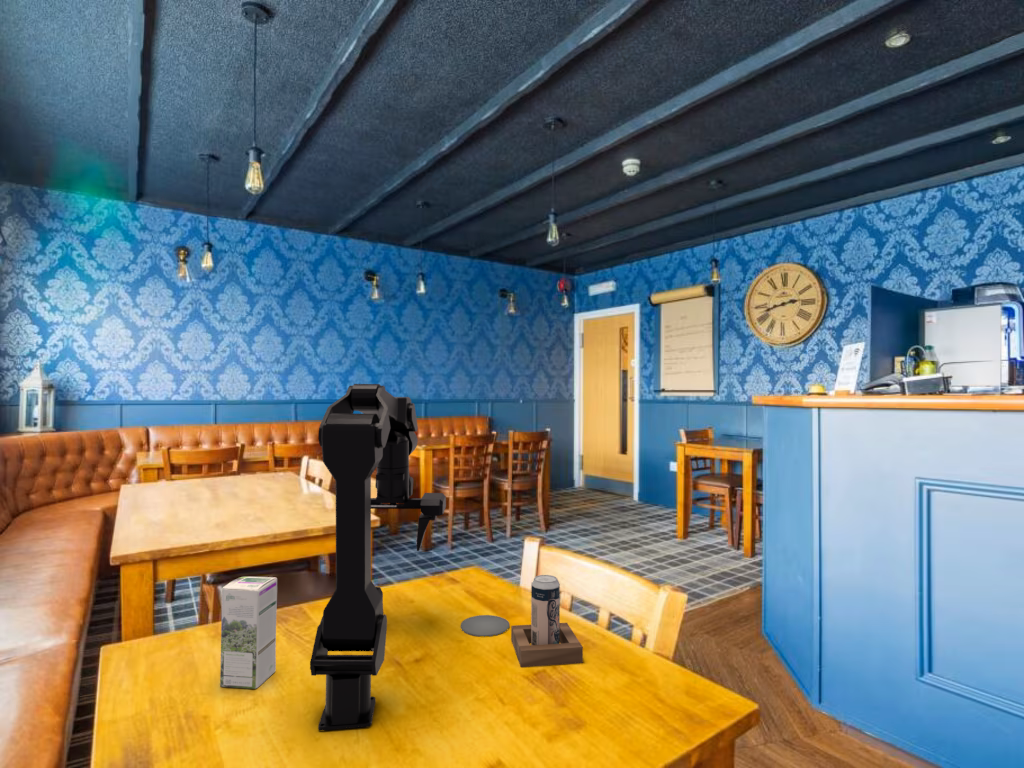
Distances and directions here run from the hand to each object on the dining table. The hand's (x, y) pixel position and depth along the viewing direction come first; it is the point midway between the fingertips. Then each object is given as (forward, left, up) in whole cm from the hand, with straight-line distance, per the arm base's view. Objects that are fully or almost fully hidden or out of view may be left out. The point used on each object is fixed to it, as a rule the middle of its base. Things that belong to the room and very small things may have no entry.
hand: (393, 550), depth 101 cm
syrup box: (-15, +20, -15) cm, 29 cm away
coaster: (-1, -17, -14) cm, 22 cm away
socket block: (-12, -26, -14) cm, 32 cm away
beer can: (-12, -26, -15) cm, 32 cm away
